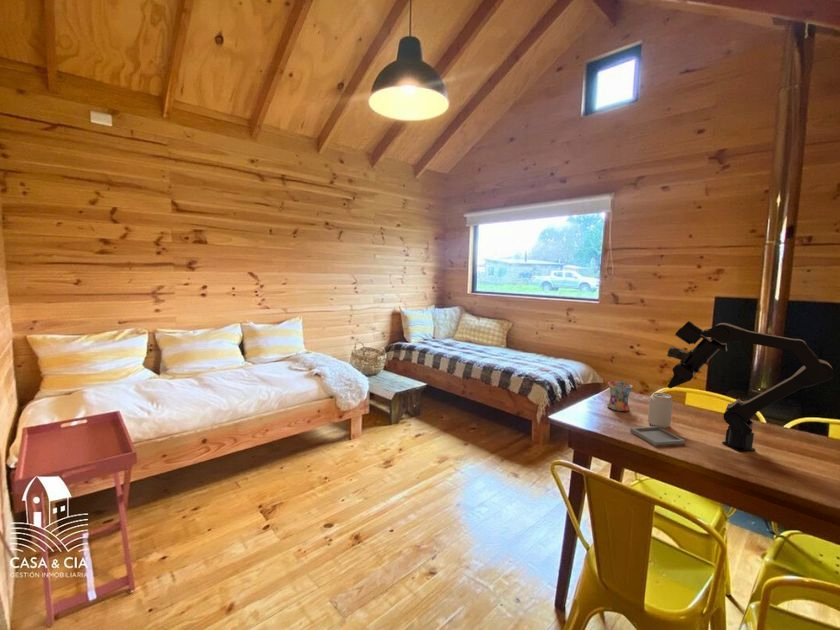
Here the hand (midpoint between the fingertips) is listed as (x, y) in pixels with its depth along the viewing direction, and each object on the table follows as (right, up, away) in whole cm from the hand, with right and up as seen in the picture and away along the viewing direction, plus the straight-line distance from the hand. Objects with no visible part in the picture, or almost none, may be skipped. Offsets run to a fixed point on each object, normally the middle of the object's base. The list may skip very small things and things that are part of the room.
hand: (671, 384), depth 143 cm
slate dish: (-10, -18, -7) cm, 21 cm away
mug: (-8, -14, +22) cm, 27 cm away
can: (-2, -16, +5) cm, 17 cm away
